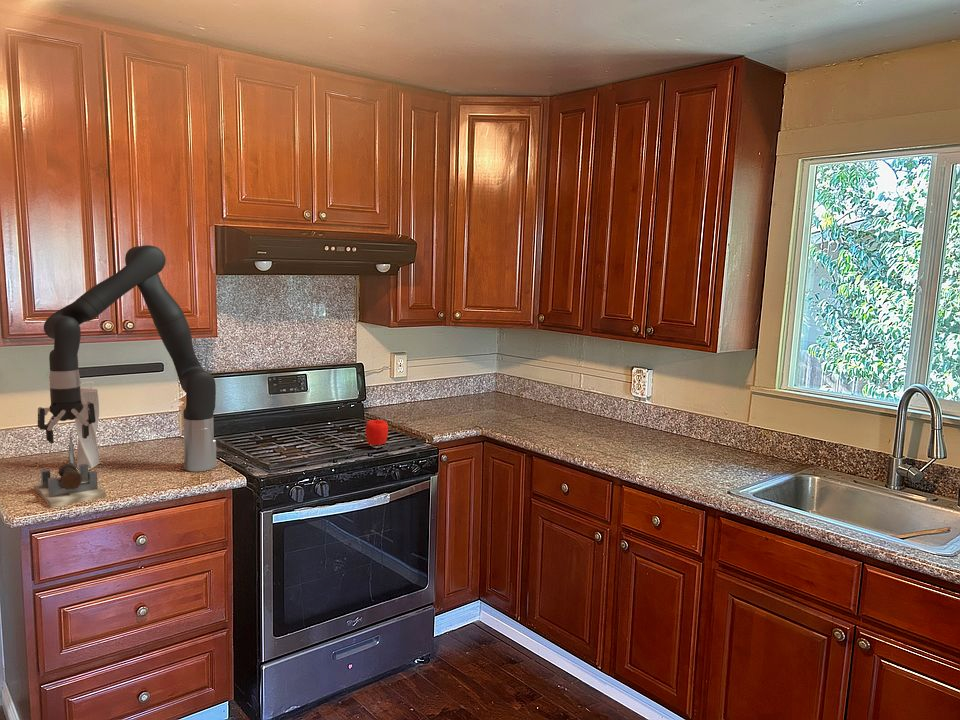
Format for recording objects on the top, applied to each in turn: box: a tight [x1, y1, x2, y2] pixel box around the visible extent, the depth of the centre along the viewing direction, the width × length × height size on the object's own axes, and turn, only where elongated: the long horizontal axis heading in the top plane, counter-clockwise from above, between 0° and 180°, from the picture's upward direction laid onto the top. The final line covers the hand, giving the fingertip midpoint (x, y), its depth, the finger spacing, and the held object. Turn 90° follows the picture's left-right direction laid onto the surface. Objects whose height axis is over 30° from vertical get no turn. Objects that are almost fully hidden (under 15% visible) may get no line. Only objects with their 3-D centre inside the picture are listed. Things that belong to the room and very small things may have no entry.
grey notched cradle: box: [40, 464, 99, 497], centre depth 205 cm, size 12×11×5 cm
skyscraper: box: [67, 381, 101, 471], centre depth 229 cm, size 8×8×28 cm
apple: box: [364, 419, 389, 445], centre depth 268 cm, size 9×9×11 cm
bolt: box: [57, 463, 83, 489], centre depth 204 cm, size 6×5×15 cm
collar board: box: [33, 482, 107, 508], centre depth 205 cm, size 14×20×2 cm
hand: (68, 440), depth 203 cm, fingers open, 8 cm apart
